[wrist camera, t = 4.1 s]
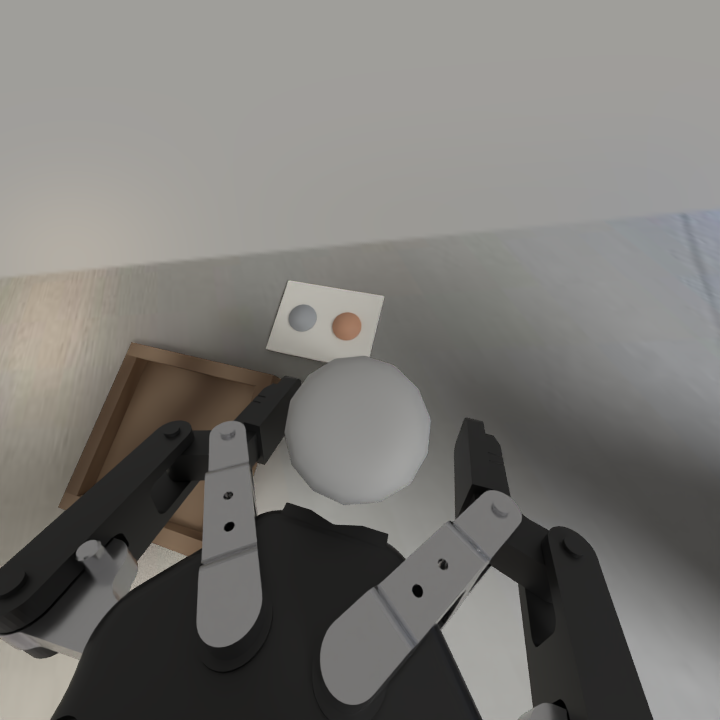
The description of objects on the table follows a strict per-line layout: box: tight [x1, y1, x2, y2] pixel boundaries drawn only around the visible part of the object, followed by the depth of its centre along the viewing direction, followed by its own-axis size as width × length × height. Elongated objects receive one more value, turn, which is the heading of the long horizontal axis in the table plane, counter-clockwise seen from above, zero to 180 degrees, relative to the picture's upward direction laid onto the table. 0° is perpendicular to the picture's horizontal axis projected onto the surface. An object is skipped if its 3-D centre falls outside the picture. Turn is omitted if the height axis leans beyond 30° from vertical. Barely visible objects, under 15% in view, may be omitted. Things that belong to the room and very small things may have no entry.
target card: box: [266, 280, 384, 363], centre depth 23 cm, size 8×6×1 cm
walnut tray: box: [58, 342, 281, 556], centre depth 21 cm, size 12×12×2 cm
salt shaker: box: [285, 356, 431, 505], centre depth 14 cm, size 6×6×13 cm
